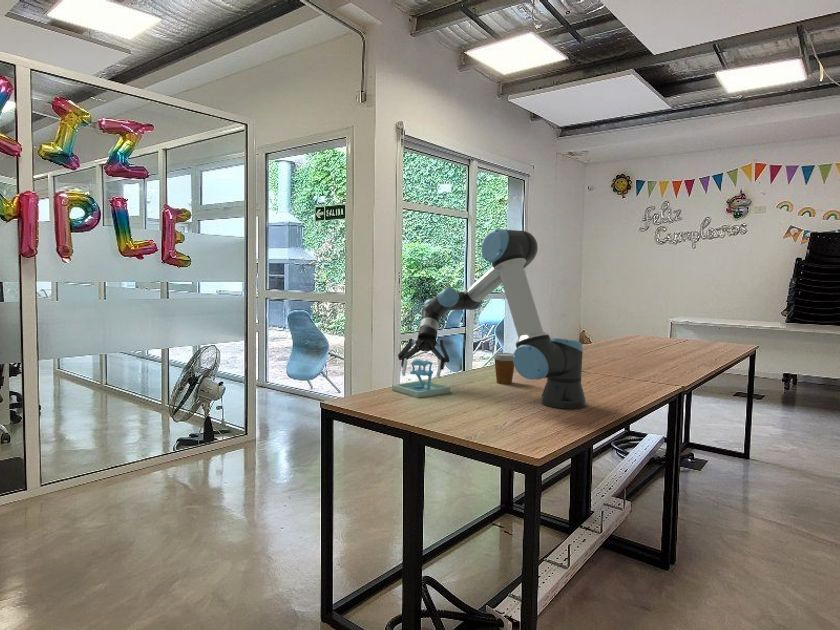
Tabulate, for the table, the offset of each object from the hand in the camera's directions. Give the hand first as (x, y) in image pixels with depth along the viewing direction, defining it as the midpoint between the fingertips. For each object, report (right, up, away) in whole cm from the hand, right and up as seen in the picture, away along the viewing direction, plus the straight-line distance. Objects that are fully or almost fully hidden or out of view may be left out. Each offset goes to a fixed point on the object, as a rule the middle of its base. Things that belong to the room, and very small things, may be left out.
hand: (420, 374), depth 211 cm
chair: (0, -6, +1) cm, 6 cm away
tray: (0, -6, +1) cm, 6 cm away
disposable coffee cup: (+35, -6, +20) cm, 41 cm away
